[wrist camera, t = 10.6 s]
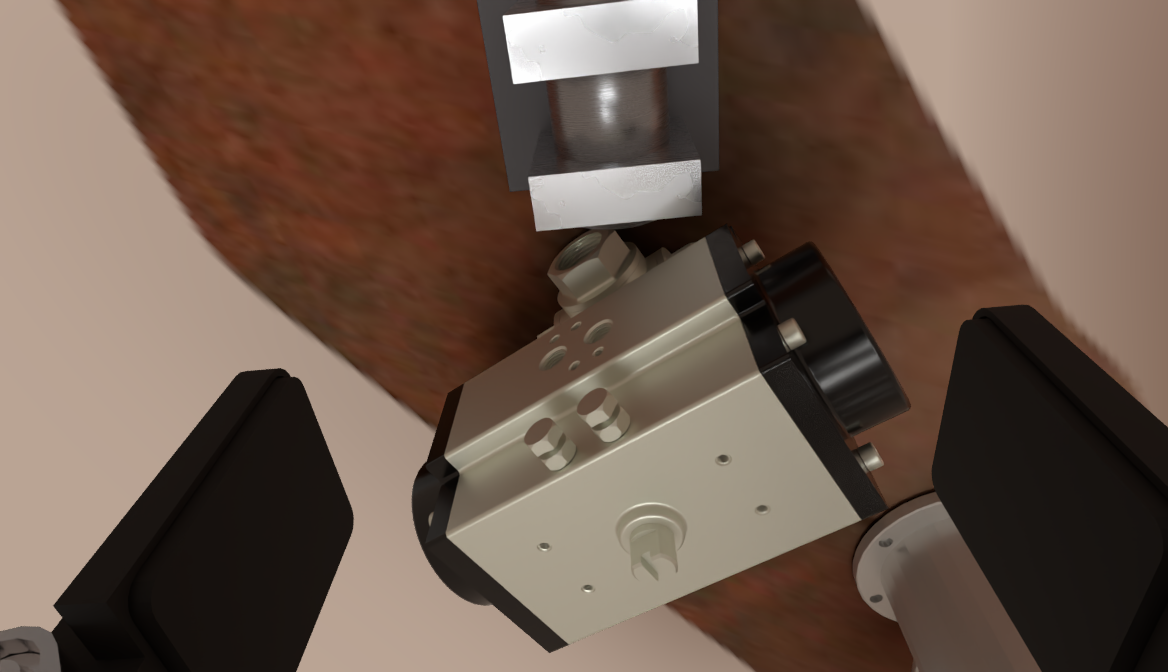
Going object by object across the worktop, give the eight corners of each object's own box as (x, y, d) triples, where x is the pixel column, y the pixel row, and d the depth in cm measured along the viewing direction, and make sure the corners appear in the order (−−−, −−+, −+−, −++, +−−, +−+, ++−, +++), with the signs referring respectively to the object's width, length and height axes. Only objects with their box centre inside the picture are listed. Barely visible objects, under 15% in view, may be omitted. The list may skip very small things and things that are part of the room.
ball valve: (735, 122, 31) (866, 312, 16) (816, 261, 35) (985, 523, 20) (440, 316, 37) (333, 592, 22) (536, 418, 41) (500, 717, 25)
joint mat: (718, 168, 33) (719, 170, 32) (510, 189, 33) (509, 191, 33) (715, -76, 27) (717, -76, 27) (470, -45, 28) (469, -44, 28)
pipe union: (684, 176, 32) (702, 229, 27) (548, 190, 33) (538, 245, 27) (676, -39, 28) (696, -28, 22) (518, -19, 28) (499, -4, 23)
